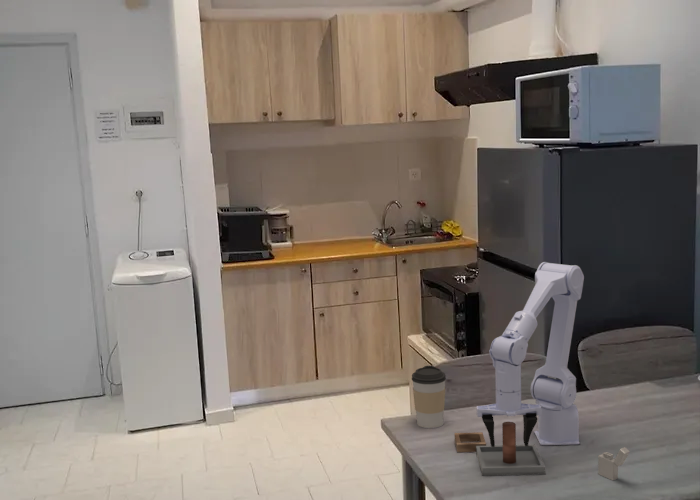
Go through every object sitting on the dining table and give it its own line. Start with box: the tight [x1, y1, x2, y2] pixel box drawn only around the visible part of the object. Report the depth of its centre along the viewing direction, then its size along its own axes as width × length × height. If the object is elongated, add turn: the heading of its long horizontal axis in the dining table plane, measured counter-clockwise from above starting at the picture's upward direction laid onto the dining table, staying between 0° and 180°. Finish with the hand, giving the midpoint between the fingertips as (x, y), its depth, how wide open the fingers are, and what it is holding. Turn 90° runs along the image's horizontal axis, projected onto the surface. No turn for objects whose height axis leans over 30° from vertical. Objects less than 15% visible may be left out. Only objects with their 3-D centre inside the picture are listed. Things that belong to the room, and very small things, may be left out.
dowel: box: [501, 421, 517, 464], centre depth 170 cm, size 3×3×9 cm
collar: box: [453, 431, 487, 453], centre depth 181 cm, size 7×7×2 cm
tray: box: [475, 444, 546, 477], centre depth 170 cm, size 14×12×2 cm
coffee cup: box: [411, 365, 447, 429], centre depth 195 cm, size 9×9×15 cm
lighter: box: [597, 446, 631, 481], centre depth 160 cm, size 7×2×8 cm, turn 32°
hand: (509, 444), depth 170 cm, fingers open, 7 cm apart
